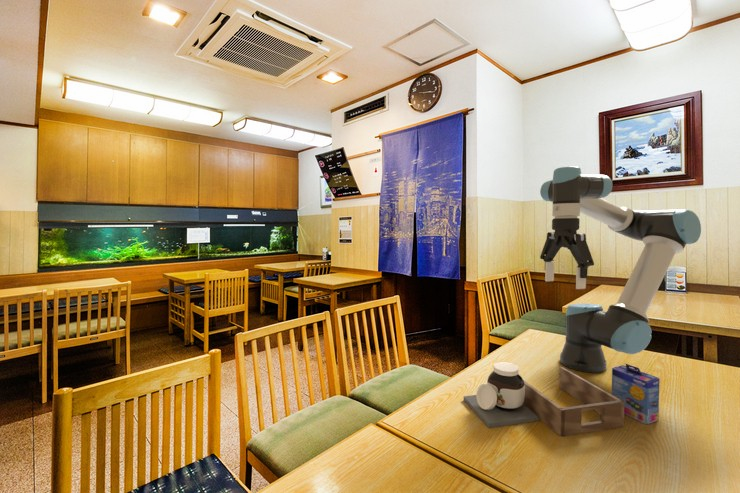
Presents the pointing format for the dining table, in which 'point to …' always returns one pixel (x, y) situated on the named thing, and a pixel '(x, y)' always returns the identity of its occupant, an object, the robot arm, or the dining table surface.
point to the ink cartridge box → (637, 393)
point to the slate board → (500, 414)
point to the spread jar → (502, 389)
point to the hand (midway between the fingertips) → (564, 284)
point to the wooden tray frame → (571, 417)
